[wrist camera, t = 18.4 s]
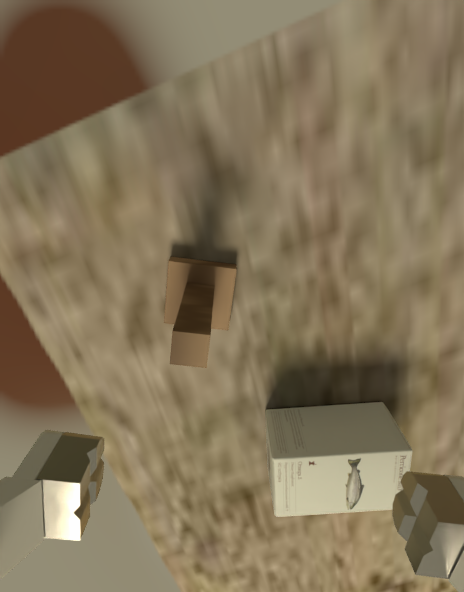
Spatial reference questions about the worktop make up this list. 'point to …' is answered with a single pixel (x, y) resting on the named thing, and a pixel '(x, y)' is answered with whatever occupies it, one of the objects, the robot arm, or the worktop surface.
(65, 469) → the robot arm
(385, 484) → the supplement box
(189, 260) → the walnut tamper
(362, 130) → the worktop surface
